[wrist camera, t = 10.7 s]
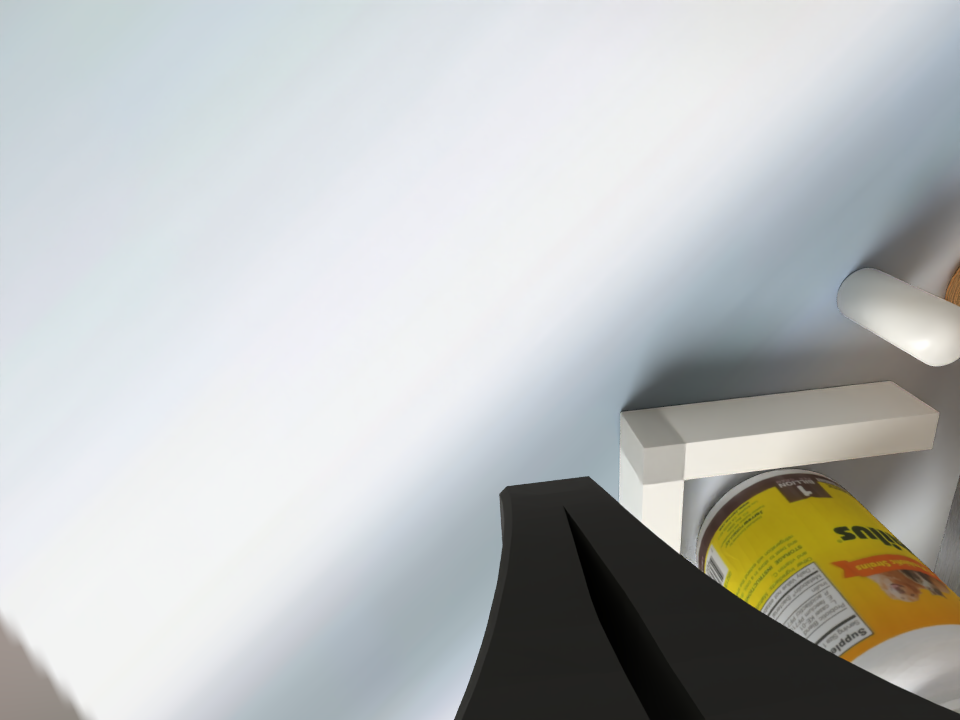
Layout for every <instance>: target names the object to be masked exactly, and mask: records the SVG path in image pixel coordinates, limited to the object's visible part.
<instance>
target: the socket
mask: <svg viewBox="0 0 960 720" xmlns="http://www.w3.org/2000/svg"><path fill="white" fill-rule="evenodd" d="M939 414H940V413H939V412H938V411H936V410H935V409H933V408H932V407H930V406H929V405H927V404H926V403H924V402H923V401H921V400H920V399H918V398H917V397H915V396H914V395H912V394H911V393H909V392H907V391H906V390H904V389H903V388H901V387H900V386H898V385H897V384H895V383H894V382H892V381H884V382H875V383H867V384H858V385H849V386H841V387H832V388H823V389H815V390H806V391H797V392H789V393H780V394H771V395H763V396H754V397H745V398H737V399H728V400H720V401H711V402H702V403H694V404H685V405H676V406H668V407H659V408H650V409H642V410H633V411H624V412H620V474H619V503H620V504H621V505H622V506H623V507H624V508H625V509H626V510H628V511H629V512H630V513H631V514H632V515H633V516H634V517H636V518H637V519H638V520H639V521H640V522H641V523H643V524H644V525H645V526H646V527H647V528H648V529H650V530H651V531H652V532H653V533H654V534H655V535H657V536H658V537H659V538H660V539H662V540H663V541H664V542H665V543H667V544H668V545H669V546H670V547H672V548H673V549H674V550H675V551H677V552H678V553H679V554H680V543H681V526H682V508H683V491H684V480H689V479H697V478H705V477H713V476H721V475H729V474H737V473H745V472H753V471H761V470H769V469H777V468H785V467H793V466H801V465H809V464H817V463H825V462H833V461H841V460H849V459H857V458H865V457H873V456H881V455H889V454H897V453H905V452H913V451H921V450H929V449H932V447H933V442H934V438H935V433H936V428H937V423H938V419H939Z"/></svg>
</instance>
